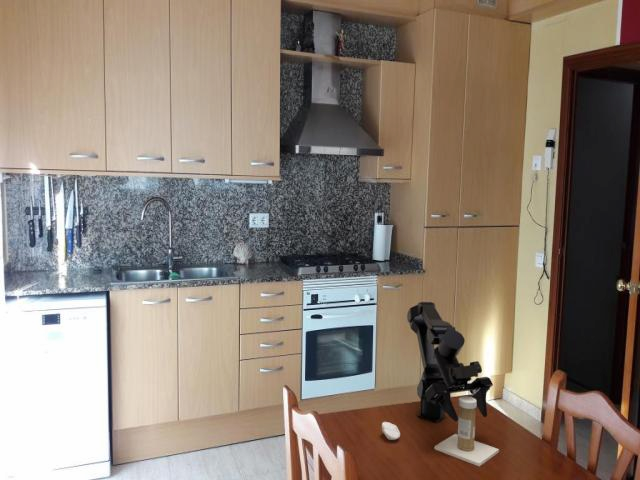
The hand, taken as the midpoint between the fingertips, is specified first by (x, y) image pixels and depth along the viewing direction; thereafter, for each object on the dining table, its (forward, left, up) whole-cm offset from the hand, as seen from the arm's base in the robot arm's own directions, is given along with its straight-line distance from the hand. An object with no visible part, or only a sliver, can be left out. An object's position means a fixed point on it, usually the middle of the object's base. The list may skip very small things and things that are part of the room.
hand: (471, 418), depth 145 cm
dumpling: (-20, -8, -10) cm, 23 cm away
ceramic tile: (-1, +1, -9) cm, 9 cm away
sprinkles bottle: (-2, 0, -9) cm, 9 cm away
